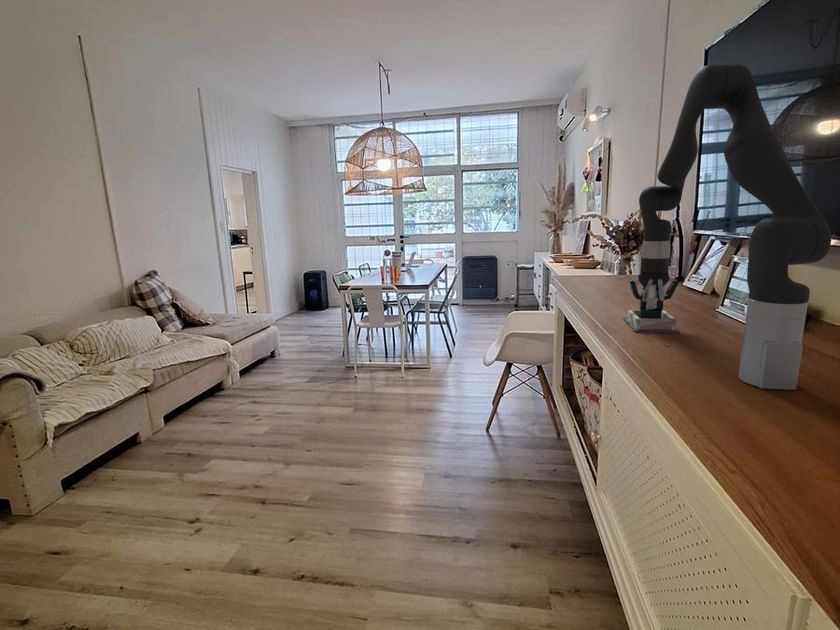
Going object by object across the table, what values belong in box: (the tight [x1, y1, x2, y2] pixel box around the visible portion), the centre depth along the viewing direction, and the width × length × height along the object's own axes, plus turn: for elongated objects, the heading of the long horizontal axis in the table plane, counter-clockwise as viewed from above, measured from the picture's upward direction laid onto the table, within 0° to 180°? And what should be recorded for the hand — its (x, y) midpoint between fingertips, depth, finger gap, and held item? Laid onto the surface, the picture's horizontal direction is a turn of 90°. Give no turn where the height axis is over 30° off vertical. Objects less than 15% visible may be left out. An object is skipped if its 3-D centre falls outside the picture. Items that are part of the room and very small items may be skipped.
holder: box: [622, 309, 681, 334], centre depth 134 cm, size 16×12×4 cm
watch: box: [640, 285, 661, 319], centre depth 133 cm, size 6×8×11 cm
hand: (651, 312), depth 133 cm, fingers closed on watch, 3 cm apart
